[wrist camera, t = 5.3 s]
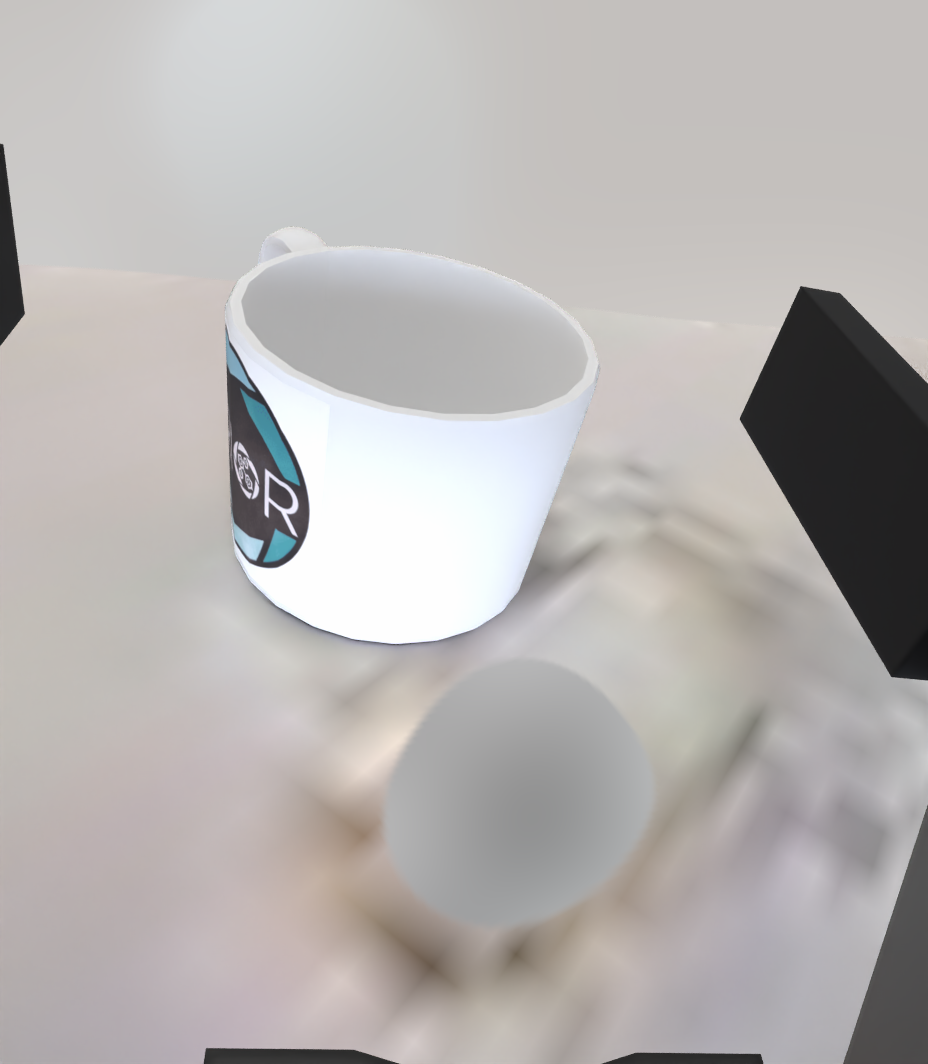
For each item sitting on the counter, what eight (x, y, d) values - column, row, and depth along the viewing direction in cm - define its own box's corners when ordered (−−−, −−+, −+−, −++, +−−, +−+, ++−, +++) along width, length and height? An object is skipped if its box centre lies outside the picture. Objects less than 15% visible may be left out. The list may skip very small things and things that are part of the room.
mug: (595, 586, 29) (676, 378, 24) (332, 709, 23) (368, 465, 18) (374, 393, 36) (402, 202, 31) (128, 447, 30) (114, 221, 25)
